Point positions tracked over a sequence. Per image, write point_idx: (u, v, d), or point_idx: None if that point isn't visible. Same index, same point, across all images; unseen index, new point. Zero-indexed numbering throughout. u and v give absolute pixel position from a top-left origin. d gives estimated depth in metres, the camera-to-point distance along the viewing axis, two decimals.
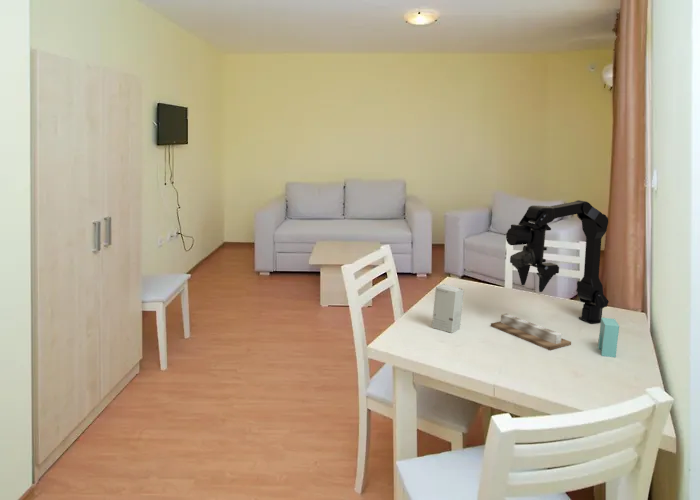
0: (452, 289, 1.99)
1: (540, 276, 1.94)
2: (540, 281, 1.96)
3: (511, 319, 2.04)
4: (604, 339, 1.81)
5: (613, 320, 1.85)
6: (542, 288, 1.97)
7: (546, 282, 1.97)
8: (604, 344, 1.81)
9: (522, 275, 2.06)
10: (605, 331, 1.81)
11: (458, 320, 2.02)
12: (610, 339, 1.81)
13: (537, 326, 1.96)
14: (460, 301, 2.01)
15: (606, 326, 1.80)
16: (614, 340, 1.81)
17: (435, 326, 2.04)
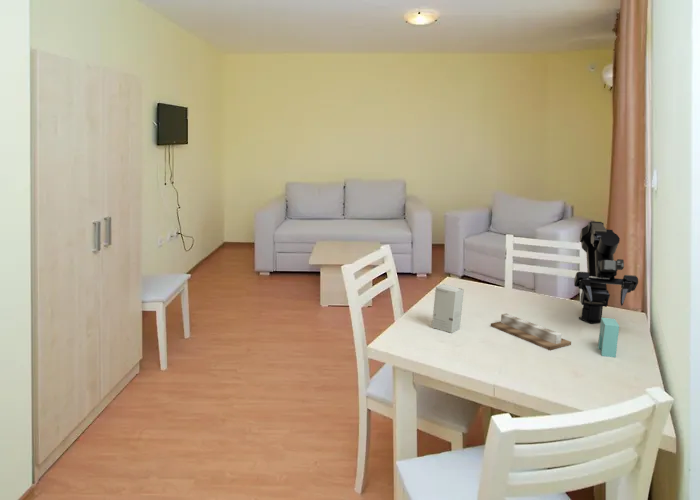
0: (452, 289, 1.99)
1: (628, 285, 1.90)
2: (625, 292, 1.90)
3: (511, 319, 2.04)
4: (604, 339, 1.81)
5: (613, 320, 1.85)
6: (623, 301, 1.90)
7: None
8: (604, 344, 1.81)
9: None
10: (605, 331, 1.81)
11: (458, 320, 2.02)
12: (610, 339, 1.81)
13: (537, 326, 1.96)
14: (460, 301, 2.01)
15: (606, 326, 1.80)
16: (614, 340, 1.81)
17: (435, 326, 2.04)
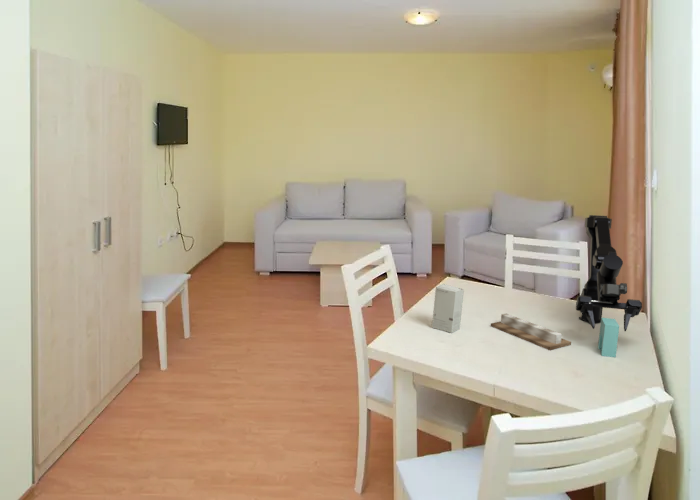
0: (452, 289, 1.99)
1: (632, 310, 1.83)
2: (628, 317, 1.83)
3: (511, 319, 2.04)
4: (604, 339, 1.81)
5: (613, 320, 1.85)
6: None
7: None
8: (604, 344, 1.81)
9: None
10: (605, 331, 1.81)
11: (458, 320, 2.02)
12: (610, 339, 1.81)
13: (537, 326, 1.96)
14: (460, 301, 2.01)
15: (606, 326, 1.80)
16: (614, 340, 1.81)
17: (435, 326, 2.04)
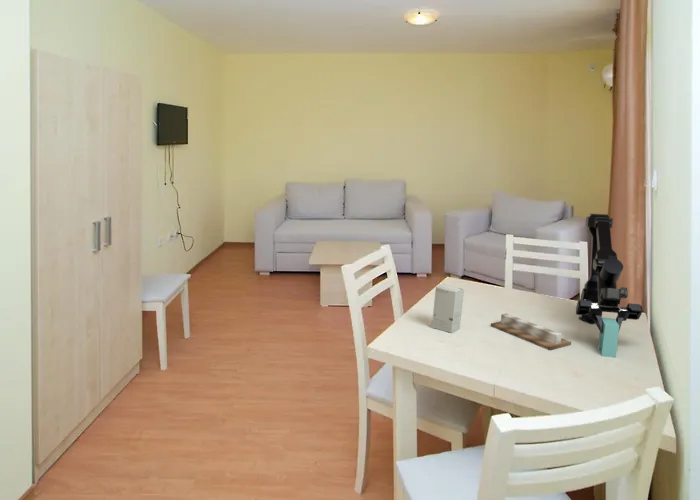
0: (452, 289, 1.99)
1: (624, 314, 1.83)
2: (620, 321, 1.83)
3: (511, 319, 2.04)
4: (604, 339, 1.81)
5: (613, 320, 1.85)
6: None
7: None
8: (604, 344, 1.81)
9: None
10: (605, 331, 1.81)
11: (458, 320, 2.02)
12: (610, 339, 1.81)
13: (537, 326, 1.96)
14: (460, 301, 2.01)
15: (606, 326, 1.80)
16: (614, 340, 1.81)
17: (435, 326, 2.04)
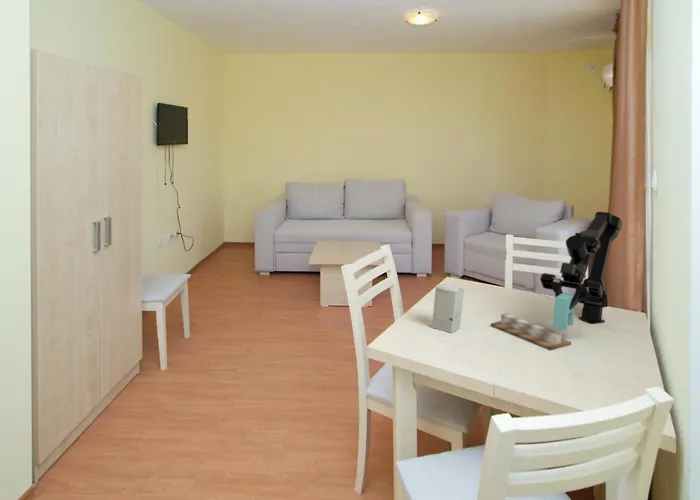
0: (452, 289, 1.99)
1: (580, 289, 1.86)
2: (575, 296, 1.86)
3: (511, 319, 2.04)
4: (554, 311, 1.87)
5: (571, 295, 1.88)
6: (573, 305, 1.86)
7: (577, 302, 1.87)
8: (554, 316, 1.87)
9: None
10: (555, 303, 1.86)
11: (458, 320, 2.02)
12: (560, 312, 1.86)
13: (537, 326, 1.96)
14: (460, 301, 2.01)
15: (556, 299, 1.86)
16: (563, 313, 1.85)
17: (435, 326, 2.04)
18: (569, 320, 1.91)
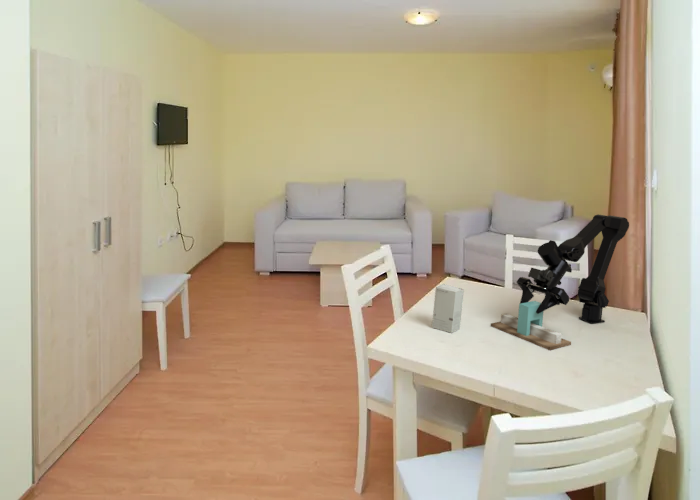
0: (452, 289, 1.99)
1: (548, 295, 1.93)
2: (543, 302, 1.93)
3: (511, 319, 2.04)
4: (518, 317, 1.98)
5: (538, 304, 1.97)
6: (540, 310, 1.94)
7: (546, 307, 1.94)
8: (518, 322, 1.98)
9: (524, 298, 2.01)
10: (519, 309, 1.97)
11: (458, 320, 2.02)
12: (522, 318, 1.96)
13: (537, 326, 1.96)
14: (460, 301, 2.01)
15: (520, 305, 1.97)
16: (525, 319, 1.95)
17: (435, 326, 2.04)
18: None
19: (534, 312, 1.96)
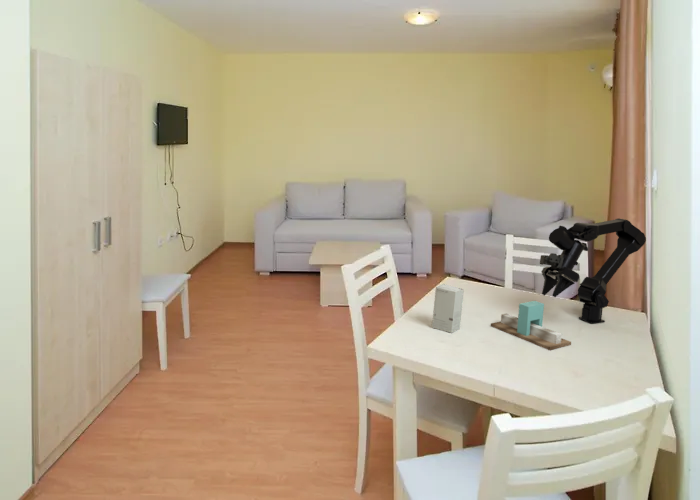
0: (452, 289, 1.99)
1: (558, 277, 1.98)
2: (557, 284, 1.99)
3: (511, 319, 2.04)
4: (518, 317, 1.98)
5: (538, 304, 1.97)
6: (556, 293, 1.99)
7: (562, 289, 1.99)
8: (518, 322, 1.98)
9: (546, 285, 2.10)
10: (519, 309, 1.97)
11: (458, 320, 2.02)
12: (522, 318, 1.96)
13: (537, 326, 1.96)
14: (460, 301, 2.01)
15: (520, 305, 1.97)
16: (525, 319, 1.95)
17: (435, 326, 2.04)
18: None
19: (534, 312, 1.96)
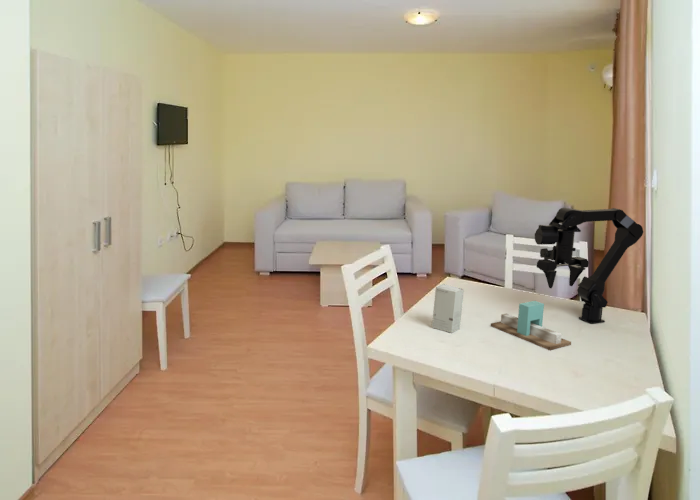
0: (452, 289, 1.99)
1: None
2: None
3: (511, 319, 2.04)
4: (518, 317, 1.98)
5: (538, 304, 1.97)
6: (549, 284, 2.09)
7: (550, 279, 2.07)
8: (518, 322, 1.98)
9: (571, 276, 2.13)
10: (519, 309, 1.97)
11: (458, 320, 2.02)
12: (522, 318, 1.96)
13: (537, 326, 1.96)
14: (460, 301, 2.01)
15: (520, 305, 1.97)
16: (525, 319, 1.95)
17: (435, 326, 2.04)
18: None
19: (534, 312, 1.96)
